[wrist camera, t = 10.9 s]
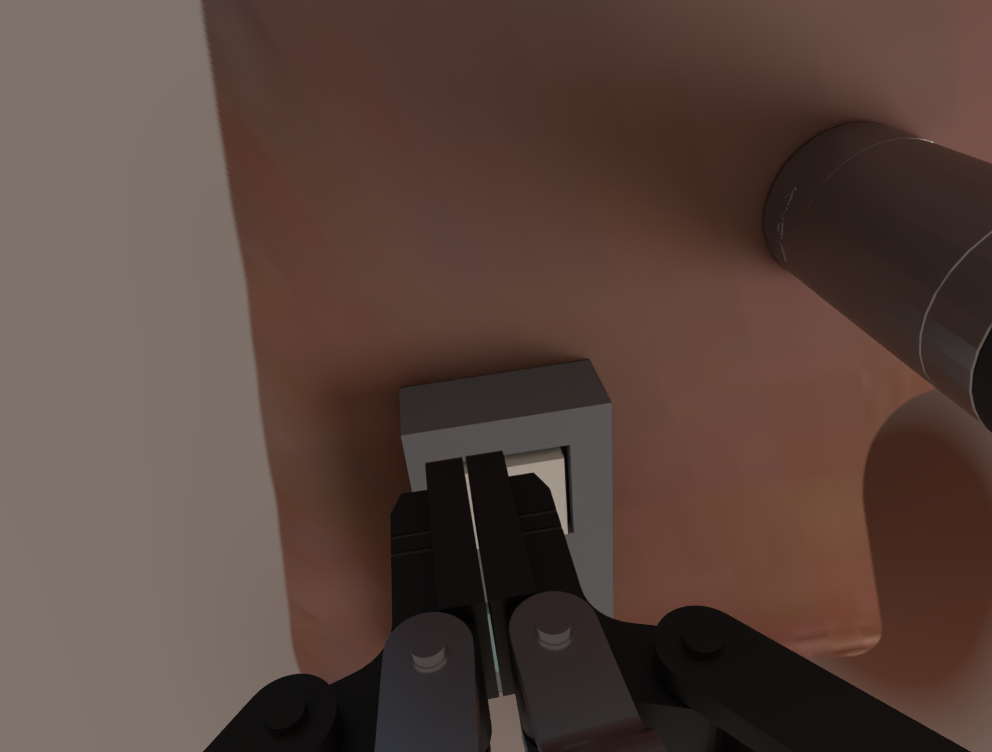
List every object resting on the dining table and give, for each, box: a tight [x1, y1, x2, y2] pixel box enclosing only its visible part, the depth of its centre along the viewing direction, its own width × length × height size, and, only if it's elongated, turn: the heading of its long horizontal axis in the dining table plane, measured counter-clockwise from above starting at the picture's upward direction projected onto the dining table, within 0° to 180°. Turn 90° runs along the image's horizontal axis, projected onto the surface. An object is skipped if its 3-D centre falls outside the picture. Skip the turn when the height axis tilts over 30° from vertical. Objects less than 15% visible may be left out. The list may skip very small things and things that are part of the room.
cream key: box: [463, 447, 568, 549], centre depth 44 cm, size 6×6×3 cm
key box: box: [399, 359, 613, 691], centre depth 48 cm, size 12×24×5 cm, turn 5°
